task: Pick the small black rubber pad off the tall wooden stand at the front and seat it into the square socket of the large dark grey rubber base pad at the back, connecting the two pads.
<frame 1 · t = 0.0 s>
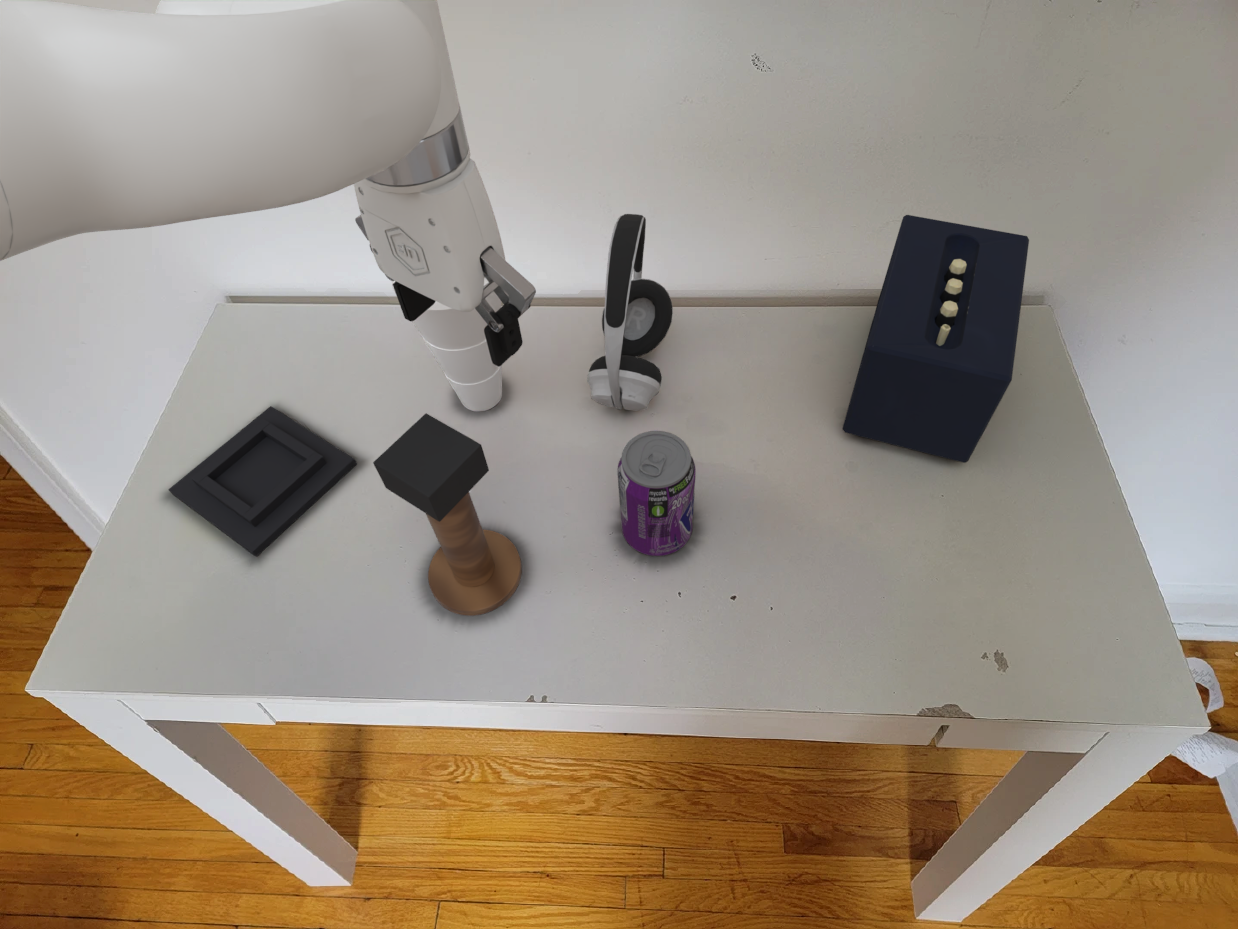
hand: (463, 332, 64), 22 cm above the table, tool pointing down, fingers open, 9 cm apart
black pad: (437, 479, 62), point 16 cm above the table, touching stand
beverage can: (657, 530, 77), on the table
base pad: (265, 479, 83), on the table
headphones: (631, 376, 90), on the table
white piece: (481, 396, 89), on the table
speaker: (914, 386, 87), on the table
stand: (476, 573, 75), on the table
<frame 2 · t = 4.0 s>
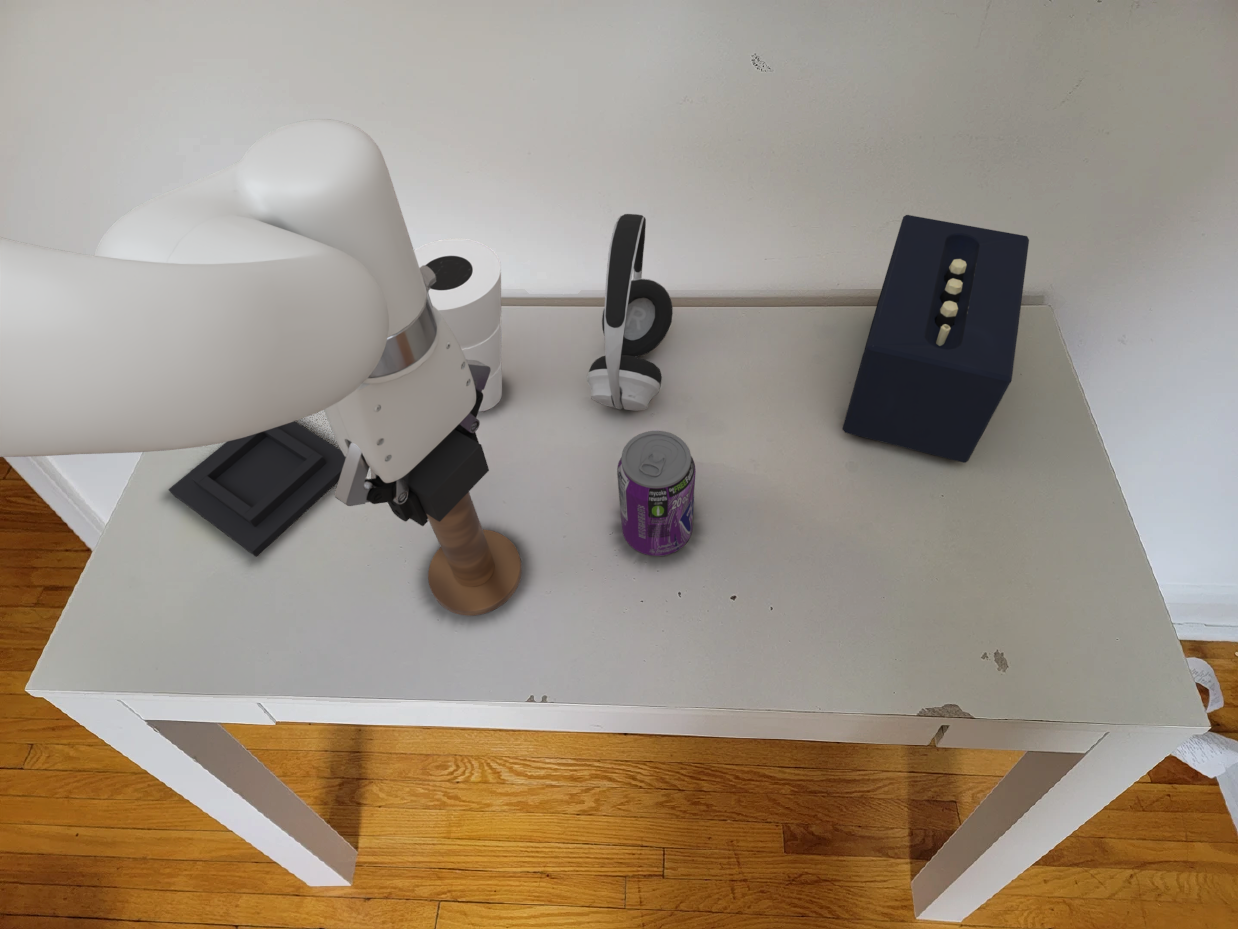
hand: (440, 485, 63), 15 cm above the table, tool pointing down, fingers closed on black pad, 6 cm apart
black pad: (437, 479, 62), point 16 cm above the table, touching gripper, stand
everything else where it was.
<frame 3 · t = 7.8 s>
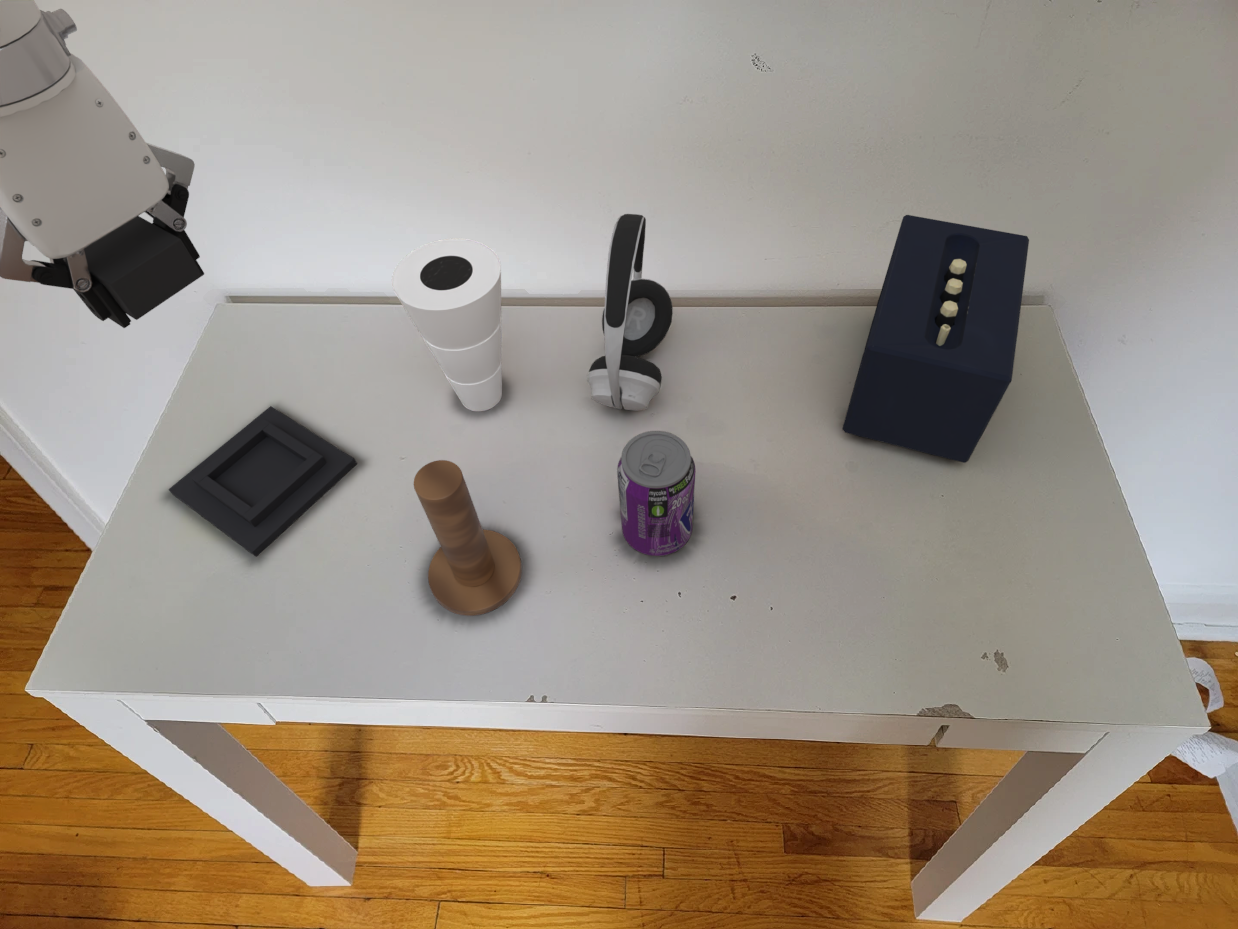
hand: (153, 292, 60), 27 cm above the table, tool pointing down, fingers closed on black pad, 6 cm apart
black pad: (147, 283, 60), point 28 cm above the table, touching gripper
everything else where it was.
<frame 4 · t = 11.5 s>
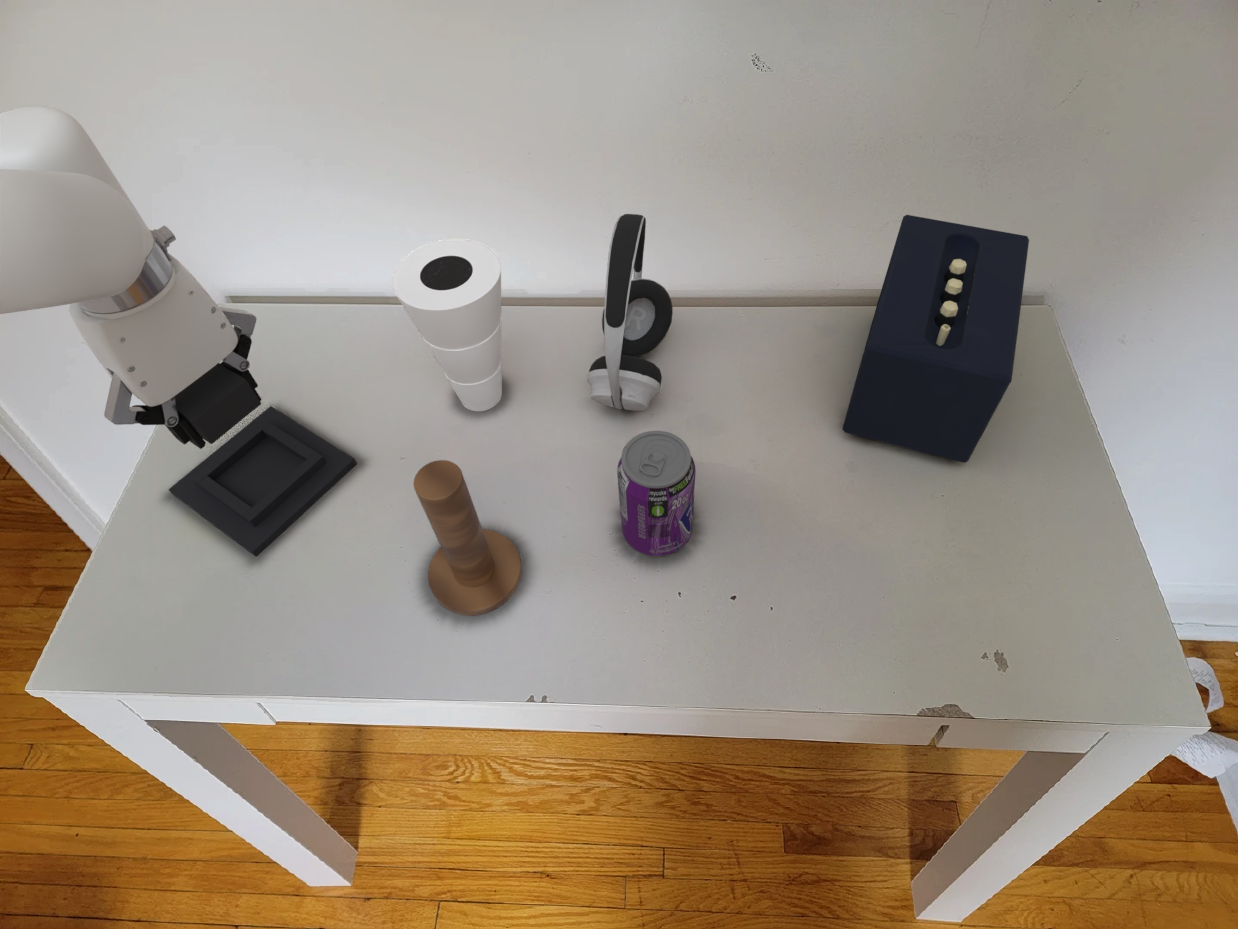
hand: (222, 417, 75), 10 cm above the table, tool pointing down, fingers closed on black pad, 6 cm apart
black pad: (217, 411, 74), point 11 cm above the table, touching gripper
everything else where it was.
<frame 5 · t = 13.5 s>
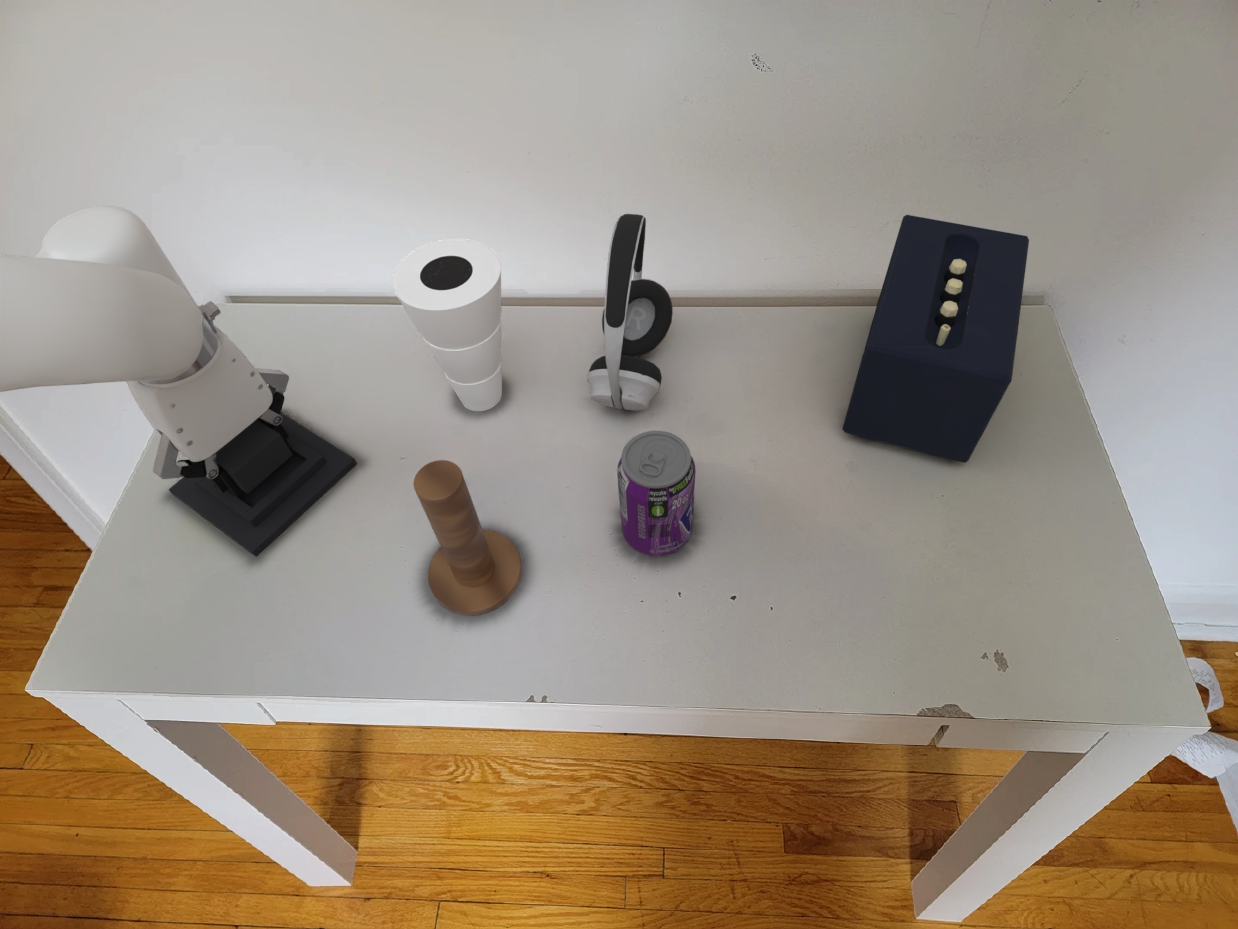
hand: (256, 466, 81), 2 cm above the table, tool pointing down, fingers closed on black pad, 6 cm apart
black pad: (252, 461, 81), point 3 cm above the table, touching gripper
everything else where it was.
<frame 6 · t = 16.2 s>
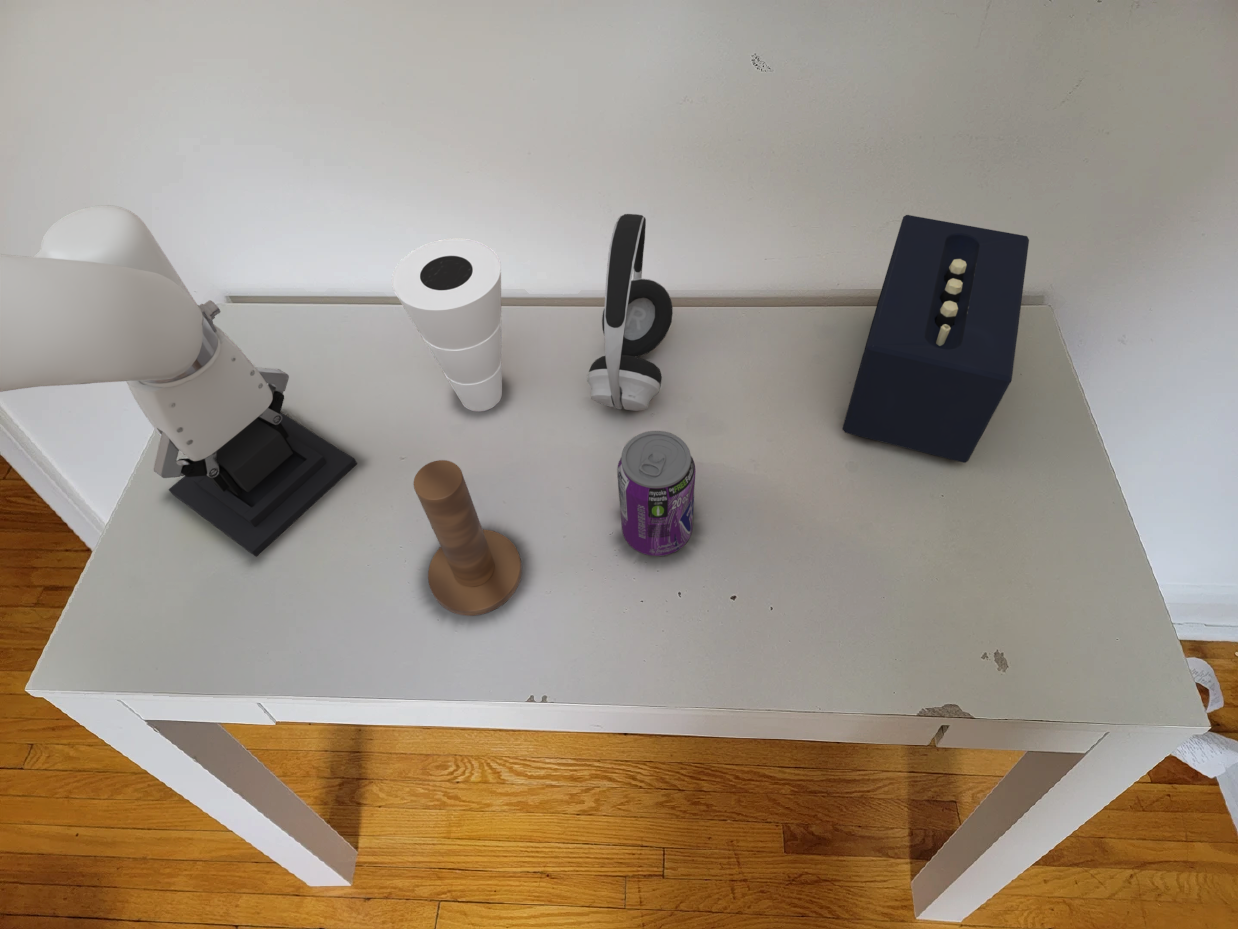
hand: (256, 465, 81), 2 cm above the table, tool pointing down, fingers closed on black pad, 5 cm apart
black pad: (252, 460, 81), point 3 cm above the table, touching gripper
everything else where it was.
when the fingers open (3 cm above the table, at t = 18.8 s): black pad drops 3 cm, resting on base pad.
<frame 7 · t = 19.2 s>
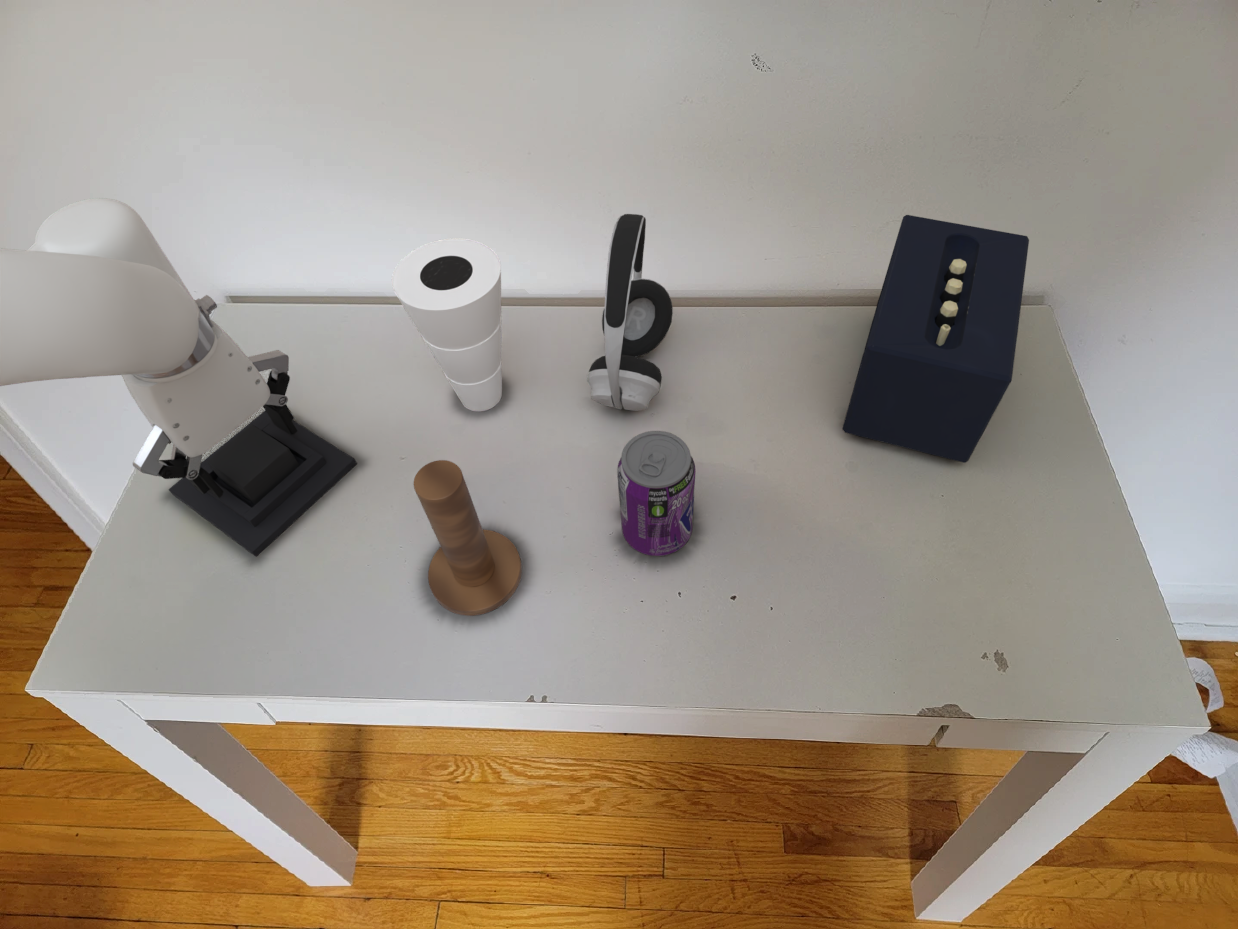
hand: (250, 458, 80), 4 cm above the table, tool pointing down, fingers open, 9 cm apart
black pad: (261, 474, 82), point 1 cm above the table, touching base pad
everything else where it was.
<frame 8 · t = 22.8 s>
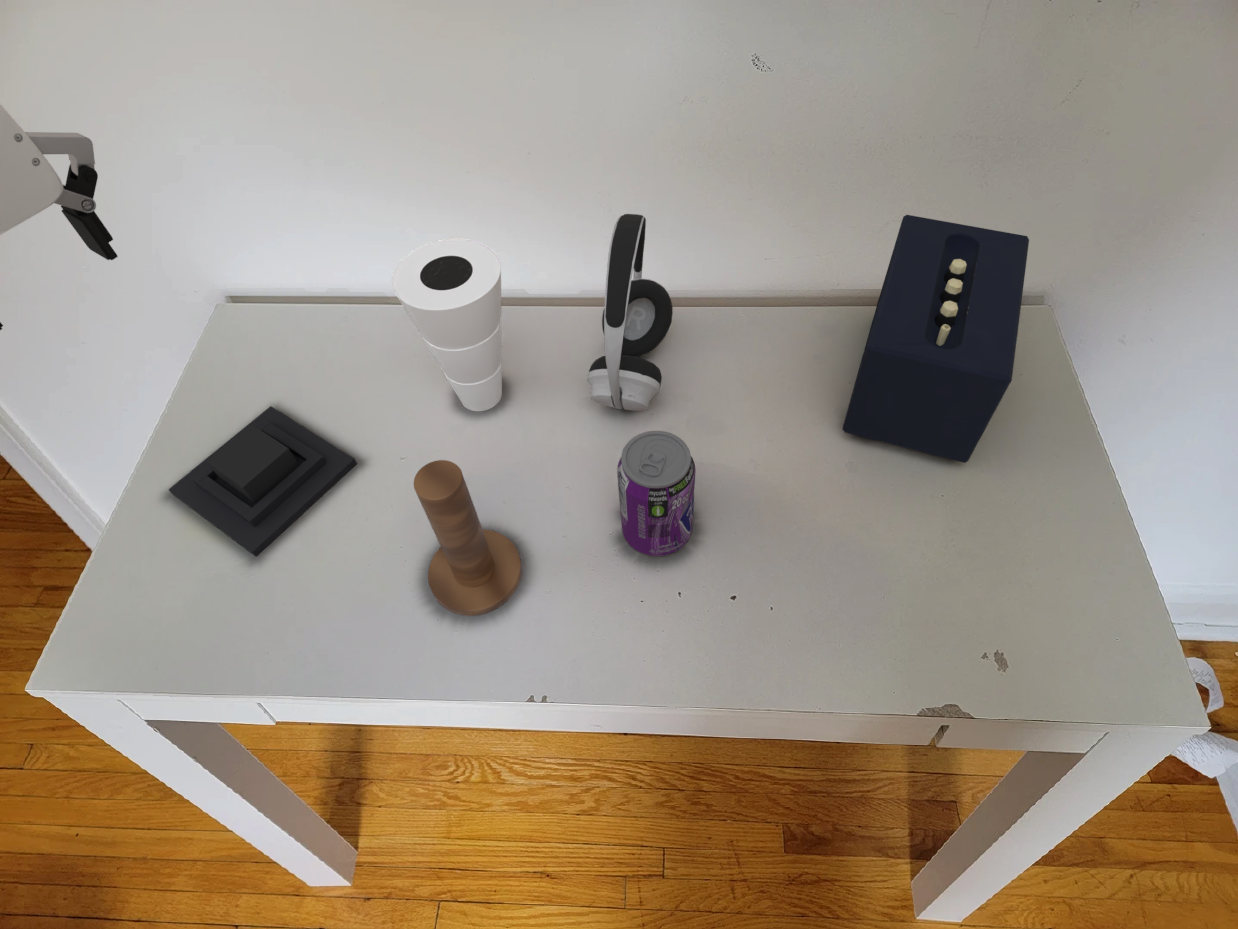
hand: (49, 287, 60), 28 cm above the table, tool pointing down, fingers open, 9 cm apart
nothing on the table moved.
at the end: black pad 0.1 cm off-centre on the base pad, point 1.0 cm above the base pad's base; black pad tilted 0°; the gripper is holding nothing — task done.
